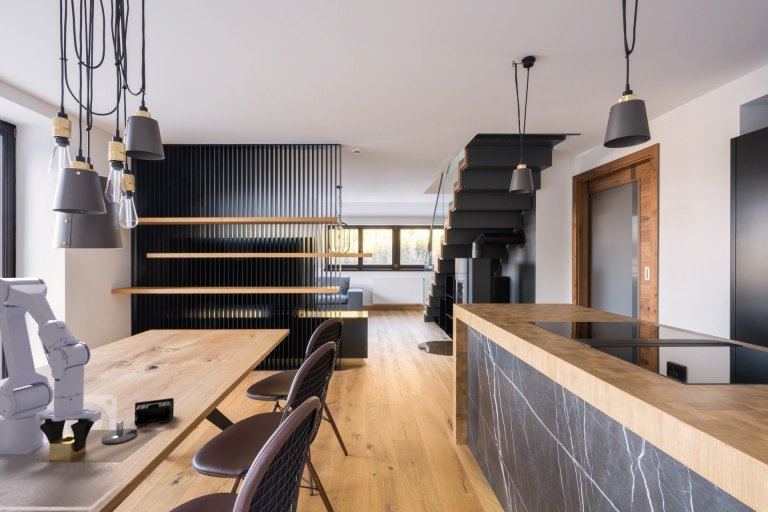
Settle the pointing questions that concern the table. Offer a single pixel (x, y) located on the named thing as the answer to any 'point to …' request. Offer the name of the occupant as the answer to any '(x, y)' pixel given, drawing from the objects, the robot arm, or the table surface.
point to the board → (110, 447)
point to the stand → (119, 435)
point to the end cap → (154, 411)
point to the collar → (64, 449)
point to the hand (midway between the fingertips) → (68, 449)
